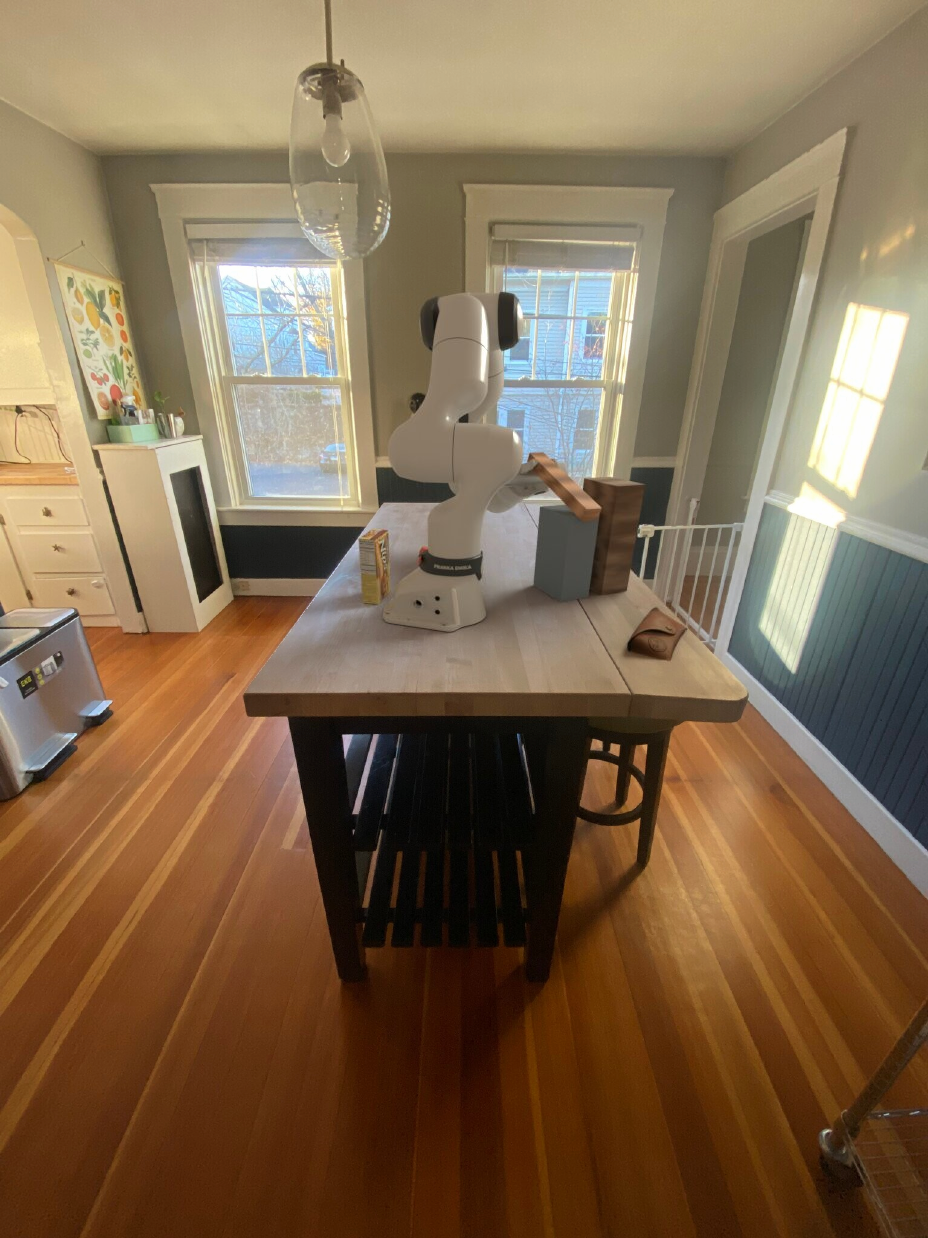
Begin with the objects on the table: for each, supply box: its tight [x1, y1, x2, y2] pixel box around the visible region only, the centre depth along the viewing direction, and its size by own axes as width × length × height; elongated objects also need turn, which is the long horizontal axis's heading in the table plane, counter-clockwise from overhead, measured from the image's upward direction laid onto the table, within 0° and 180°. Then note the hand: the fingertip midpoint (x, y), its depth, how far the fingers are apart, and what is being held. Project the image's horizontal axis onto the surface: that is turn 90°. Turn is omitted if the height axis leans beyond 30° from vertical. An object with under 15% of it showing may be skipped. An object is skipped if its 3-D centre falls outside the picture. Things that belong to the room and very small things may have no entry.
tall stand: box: [582, 476, 646, 596], centre depth 119 cm, size 12×8×26 cm, turn 25°
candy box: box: [358, 528, 391, 605], centre depth 111 cm, size 9×4×15 cm, turn 170°
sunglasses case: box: [626, 606, 688, 662], centre depth 97 cm, size 18×7×7 cm, turn 148°
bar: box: [526, 451, 602, 521], centre depth 112 cm, size 26×4×3 cm, turn 24°
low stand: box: [533, 504, 599, 603], centre depth 115 cm, size 12×8×20 cm, turn 25°
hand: (545, 461), depth 117 cm, fingers closed on bar, 4 cm apart
